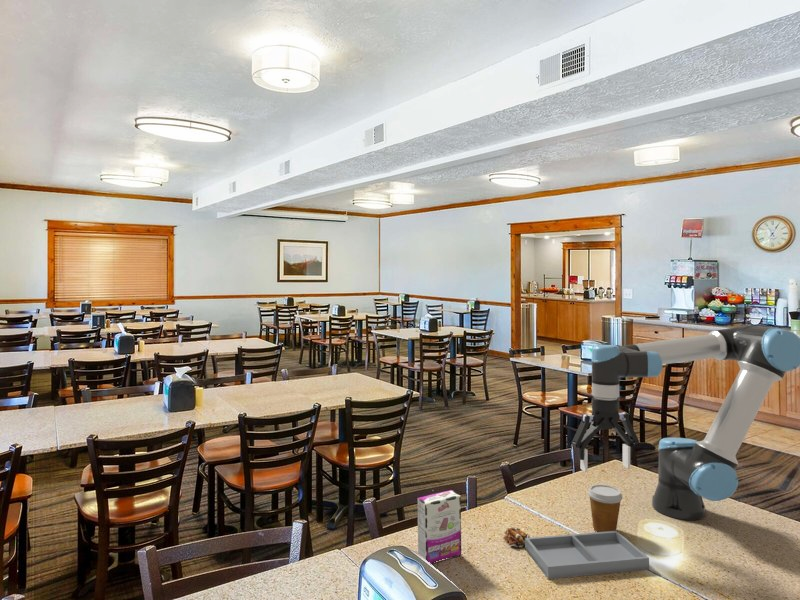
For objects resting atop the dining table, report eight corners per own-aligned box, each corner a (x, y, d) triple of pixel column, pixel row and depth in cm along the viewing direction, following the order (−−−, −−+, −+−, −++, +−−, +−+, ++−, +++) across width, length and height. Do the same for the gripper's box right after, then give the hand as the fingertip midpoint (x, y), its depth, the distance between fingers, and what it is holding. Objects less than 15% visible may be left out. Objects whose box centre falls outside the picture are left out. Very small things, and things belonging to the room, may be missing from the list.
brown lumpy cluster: (517, 529, 154) (517, 517, 153) (535, 548, 142) (535, 536, 142) (495, 531, 152) (495, 519, 152) (512, 551, 141) (512, 539, 140)
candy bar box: (451, 547, 142) (451, 489, 142) (461, 555, 138) (462, 495, 137) (416, 557, 137) (416, 496, 136) (426, 566, 132) (426, 503, 132)
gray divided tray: (616, 541, 145) (616, 530, 145) (648, 569, 131) (649, 557, 131) (524, 548, 141) (524, 538, 141) (548, 578, 127) (548, 566, 127)
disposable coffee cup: (625, 539, 146) (625, 498, 146) (590, 536, 148) (590, 495, 148) (618, 524, 156) (618, 485, 155) (585, 521, 158) (585, 482, 157)
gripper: (636, 392, 156) (635, 461, 157) (559, 396, 152) (559, 467, 153) (652, 398, 149) (651, 470, 150) (572, 402, 145) (572, 476, 146)
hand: (605, 468), depth 151 cm, fingers open, 13 cm apart
